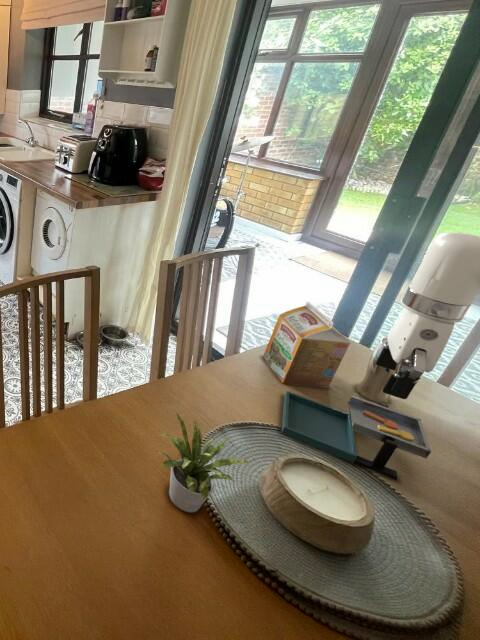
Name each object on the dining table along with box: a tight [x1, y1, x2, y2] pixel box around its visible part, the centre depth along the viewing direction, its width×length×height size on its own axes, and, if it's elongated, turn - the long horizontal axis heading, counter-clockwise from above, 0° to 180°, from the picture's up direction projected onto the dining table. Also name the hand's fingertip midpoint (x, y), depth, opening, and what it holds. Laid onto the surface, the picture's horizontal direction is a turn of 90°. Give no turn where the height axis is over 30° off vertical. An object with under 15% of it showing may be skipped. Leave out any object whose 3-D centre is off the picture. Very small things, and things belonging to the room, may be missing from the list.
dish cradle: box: [355, 402, 399, 481], centre depth 86 cm, size 6×14×8 cm, turn 143°
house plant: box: [155, 408, 251, 513], centre depth 74 cm, size 14×14×16 cm
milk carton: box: [262, 301, 351, 389], centre depth 106 cm, size 11×11×19 cm
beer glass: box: [356, 337, 412, 404], centre depth 99 cm, size 7×7×15 cm
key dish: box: [347, 395, 432, 460], centre depth 85 cm, size 11×10×2 cm
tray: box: [281, 390, 358, 464], centre depth 92 cm, size 12×14×2 cm
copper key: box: [363, 410, 399, 429], centre depth 86 cm, size 5×2×1 cm, turn 38°
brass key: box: [377, 425, 414, 441], centre depth 83 cm, size 5×2×1 cm, turn 63°
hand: (389, 380), depth 78 cm, fingers open, 9 cm apart
